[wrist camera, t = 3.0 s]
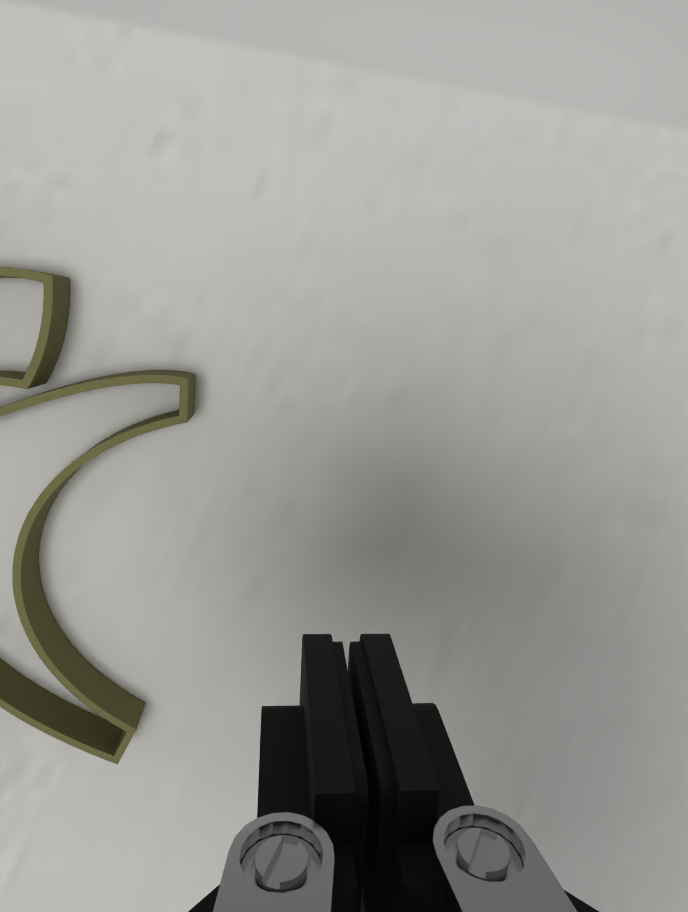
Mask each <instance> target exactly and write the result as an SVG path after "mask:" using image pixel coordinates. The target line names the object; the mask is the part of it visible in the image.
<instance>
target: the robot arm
mask: <svg viewBox="0 0 688 912" xmlns="http://www.w3.org/2000/svg"><path fill="white" fill-rule="evenodd" d="M189 912H599V911H597V910H595V909H594V908H592V907H591V906H589V905H587V904H586V903H584V902H583V901H581V900H579V899H578V898H576V897H574V896H573V895H571V894H570V893H568V892H566V891H565V890H563V888H562V887H561V885H560V884H559V882H558V881H557V879H556V877H555V876H554V874H553V873H552V871H551V870H550V868H549V866H548V865H547V863H546V862H545V860H544V859H543V857H542V855H541V854H540V852H539V851H538V849H537V848H536V846H535V844H534V843H533V841H532V840H531V838H530V837H529V836H528V834H527V833H526V832H525V831H524V830H523V828H522V827H521V826H520V825H519V824H518V823H516V822H515V821H514V820H512V819H511V818H510V817H508V816H507V815H505V814H503V813H500V812H498V811H496V810H494V809H491V808H486V807H481V806H474V803H473V800H472V798H471V795H470V792H469V790H468V787H467V784H466V782H465V779H464V777H463V774H462V771H461V769H460V766H459V763H458V761H457V758H456V756H455V753H454V750H453V748H452V745H451V742H450V740H449V737H448V734H447V732H446V729H445V727H444V724H443V721H442V719H441V716H440V713H439V711H438V709H437V707H436V705H435V704H433V703H415V704H412V701H411V698H410V695H409V692H408V689H407V686H406V683H405V679H404V676H403V673H402V670H401V667H400V664H399V661H398V658H397V655H396V652H395V648H394V645H393V642H392V639H391V636H390V634H361V636H360V641H359V642H350V646H349V661H348V670H347V665H346V659H345V654H344V648H343V643H342V642H332V636H331V634H303V638H302V660H301V685H300V706H262V713H261V738H260V763H259V787H258V812H257V819H255V820H254V821H252V822H250V823H249V824H247V825H245V827H244V828H243V829H242V830H241V831H240V832H239V833H238V834H237V835H236V836H235V838H234V840H233V843H232V845H231V847H230V849H229V853H228V856H227V860H226V864H225V868H224V871H223V875H222V879H221V883H220V885H219V886H217V887H216V888H215V889H214V890H213V891H212V892H211V893H209V894H208V895H207V896H206V897H205V898H204V899H202V900H201V901H200V902H199V903H198V904H197V905H195V906H194V907H193V908H192V909H191V910H190V911H189Z"/></svg>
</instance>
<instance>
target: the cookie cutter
mask: <svg viewBox="0 0 688 912" xmlns="http://www.w3.org/2000/svg"><path fill="white" fill-rule="evenodd" d="M0 278H26V279H31V280H36V281H40V282H44V301H43V314H42V322H41V328H40V333H39V338H38V341H37V345H36V349H35V352H34V355H33V358H32V360H31V363H30V365H29V367H28V370H27V372H17V371H0V385H4V386H12V387H19V388H25V389H29V388H32V387H35V386H39V385H42V384H45V383H46V382H47V381H48V379H49V377H50V375H51V373H52V371H53V369H54V367H55V365H56V362H57V360H58V357H59V355H60V352H61V349H62V345H63V342H64V338H65V333H66V329H67V323H68V315H69V304H70V278H67V277H63V276H59V275H54V274H49V273H43V272H37V271H31V270H25V269H18V268H11V267H0ZM138 383H167V384H176V385H180V407H179V410H176V411H172V412H168V413H165V414H161V415H158V416H155V417H152V418H149V419H146V420H143V421H141V422H138V423H136V424H133V425H131V426H129V427H127V428H125V429H123V430H121V431H119V432H117V433H115V434H113V435H111V436H110V437H108V438H106V439H105V440H103V441H101V442H100V443H98V444H97V445H95V446H94V447H93V448H91V449H90V450H88V451H87V452H86V453H84V454H83V455H82V456H80V457H79V458H78V459H76V460H75V461H74V462H72V463H71V464H70V465H69V466H67V467H66V468H65V469H64V470H63V471H62V472H61V473H59V474H58V475H57V476H56V477H55V478H54V479H53V480H52V482H51V483H50V484H49V485H48V486H47V487H46V488H45V489H44V491H43V492H42V493H41V495H40V496H39V497H38V499H37V500H36V502H35V503H34V505H33V506H32V508H31V510H30V511H29V513H28V515H27V517H26V519H25V521H24V524H23V526H22V528H21V531H20V534H19V537H18V540H17V544H16V548H15V553H14V560H13V591H14V598H15V603H16V607H17V611H18V614H19V617H20V620H21V623H22V625H23V628H24V630H25V632H26V635H27V637H28V639H29V641H30V642H31V644H32V646H33V648H34V649H35V651H36V653H37V654H38V656H39V657H40V658H41V660H42V661H43V663H44V664H45V665H46V667H47V668H48V669H49V670H50V671H51V673H52V674H53V675H54V676H55V677H56V678H57V679H58V680H59V682H60V683H61V684H62V685H63V686H64V687H65V688H66V689H67V690H69V691H70V692H71V693H72V694H73V695H74V696H75V697H76V698H78V699H79V700H80V701H81V702H82V703H84V704H85V705H86V706H87V707H89V708H90V709H91V710H93V711H94V712H96V713H97V714H98V715H100V716H101V717H103V718H104V719H103V718H101V717H99V716H97V715H94V714H92V713H90V712H88V711H86V710H84V709H82V708H80V707H78V706H75V705H73V704H71V703H70V702H68V701H66V700H64V699H62V698H60V697H58V696H56V695H55V694H53V693H51V692H49V691H48V690H46V689H44V688H42V687H41V686H39V685H38V684H36V683H34V682H33V681H31V680H30V679H28V678H27V677H25V676H24V675H22V674H21V673H19V672H18V671H16V670H15V669H14V668H12V667H11V666H10V665H8V664H7V663H6V662H5V661H3V660H2V659H1V658H0V707H1V708H3V709H4V710H6V711H7V712H9V713H11V714H12V715H14V716H16V717H17V718H19V719H21V720H22V721H24V722H26V723H28V724H29V725H31V726H33V727H35V728H37V729H39V730H41V731H43V732H44V733H46V734H48V735H50V736H52V737H54V738H57V739H59V740H61V741H63V742H65V743H67V744H69V745H72V746H74V747H76V748H78V749H81V750H83V751H85V752H88V753H90V754H93V755H95V756H97V757H100V758H102V759H105V760H108V761H110V762H113V763H115V764H118V763H119V761H120V759H121V757H122V755H123V753H124V751H125V750H126V748H127V746H128V744H129V742H130V740H131V738H132V737H133V735H134V733H135V731H136V729H137V726H138V723H139V720H140V717H141V714H142V711H143V708H144V705H145V702H144V701H142V700H140V699H139V698H137V697H135V696H134V695H132V694H130V693H129V692H127V691H126V690H124V689H122V688H121V687H120V686H118V685H117V684H115V683H114V682H112V681H111V680H110V679H108V678H107V677H106V676H104V675H103V674H102V673H101V672H100V671H98V670H97V669H96V668H95V667H94V666H93V665H92V664H90V663H89V662H88V661H87V660H86V659H85V658H84V657H83V656H82V655H81V654H80V653H79V651H78V650H77V649H76V648H75V647H74V646H73V644H72V643H71V642H70V641H69V639H68V638H67V637H66V635H65V634H64V633H63V631H62V630H61V628H60V626H59V625H58V623H57V621H56V620H55V618H54V616H53V614H52V612H51V610H50V608H49V605H48V603H47V600H46V597H45V594H44V591H43V587H42V583H41V578H40V571H39V545H40V539H41V533H42V529H43V526H44V523H45V520H46V517H47V514H48V512H49V510H50V508H51V506H52V504H53V502H54V500H55V498H56V497H57V495H58V493H59V492H60V490H61V489H62V488H63V486H64V485H65V484H66V482H67V481H68V480H69V479H70V478H71V477H72V475H73V474H74V473H75V472H76V471H77V470H78V469H79V468H80V467H81V466H82V465H84V464H85V463H86V462H87V461H89V460H90V459H92V458H93V457H95V456H97V455H98V454H100V453H102V452H104V451H105V450H107V449H109V448H111V447H113V446H115V445H117V444H119V443H121V442H124V441H126V440H128V439H131V438H133V437H136V436H138V435H141V434H144V433H147V432H150V431H153V430H157V429H160V428H164V427H168V426H172V425H176V424H181V423H186V422H188V421H189V419H190V418H191V417H192V416H193V415H194V390H195V373H189V372H183V371H172V370H149V371H136V372H128V373H121V374H115V375H109V376H104V377H99V378H94V379H90V380H86V381H82V382H78V383H74V384H70V385H67V386H63V387H60V388H57V389H53V390H50V391H47V392H44V393H41V394H38V395H35V396H32V397H29V398H26V399H23V400H20V401H17V402H14V403H11V404H8V405H5V406H3V407H0V416H2V415H5V414H8V413H11V412H14V411H17V410H20V409H23V408H26V407H29V406H32V405H35V404H39V403H42V402H45V401H49V400H52V399H56V398H59V397H63V396H67V395H71V394H75V393H79V392H84V391H89V390H93V389H99V388H104V387H110V386H117V385H126V384H138Z"/></svg>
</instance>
